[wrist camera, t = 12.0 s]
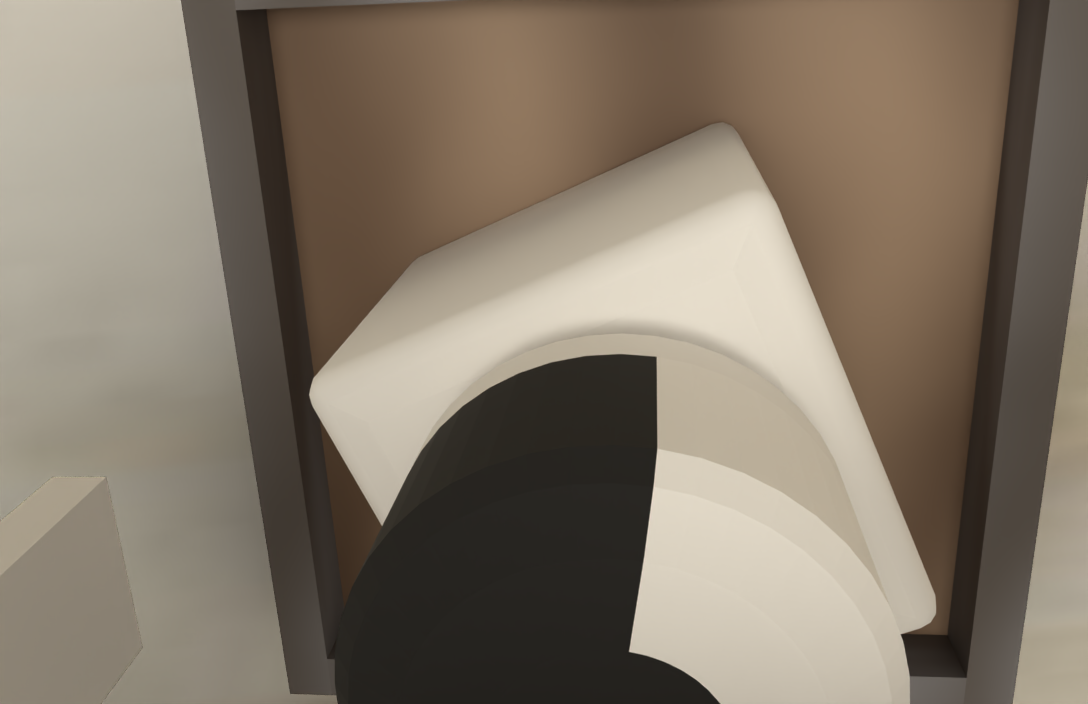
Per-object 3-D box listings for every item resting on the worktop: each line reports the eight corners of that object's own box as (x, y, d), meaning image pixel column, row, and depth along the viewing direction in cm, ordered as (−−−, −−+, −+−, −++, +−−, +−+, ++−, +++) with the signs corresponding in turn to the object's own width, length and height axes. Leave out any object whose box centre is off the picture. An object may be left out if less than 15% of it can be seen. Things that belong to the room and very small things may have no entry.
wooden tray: (323, 628, 26) (290, 693, 23) (229, -44, 20) (173, -47, 18) (975, 645, 24) (1010, 717, 22) (1067, -87, 18) (1127, -96, 16)
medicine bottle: (552, 537, 23) (456, 1071, 12) (407, 259, 21) (123, 580, 10) (857, 426, 21) (1085, 926, 10) (729, 113, 19) (834, 298, 8)
